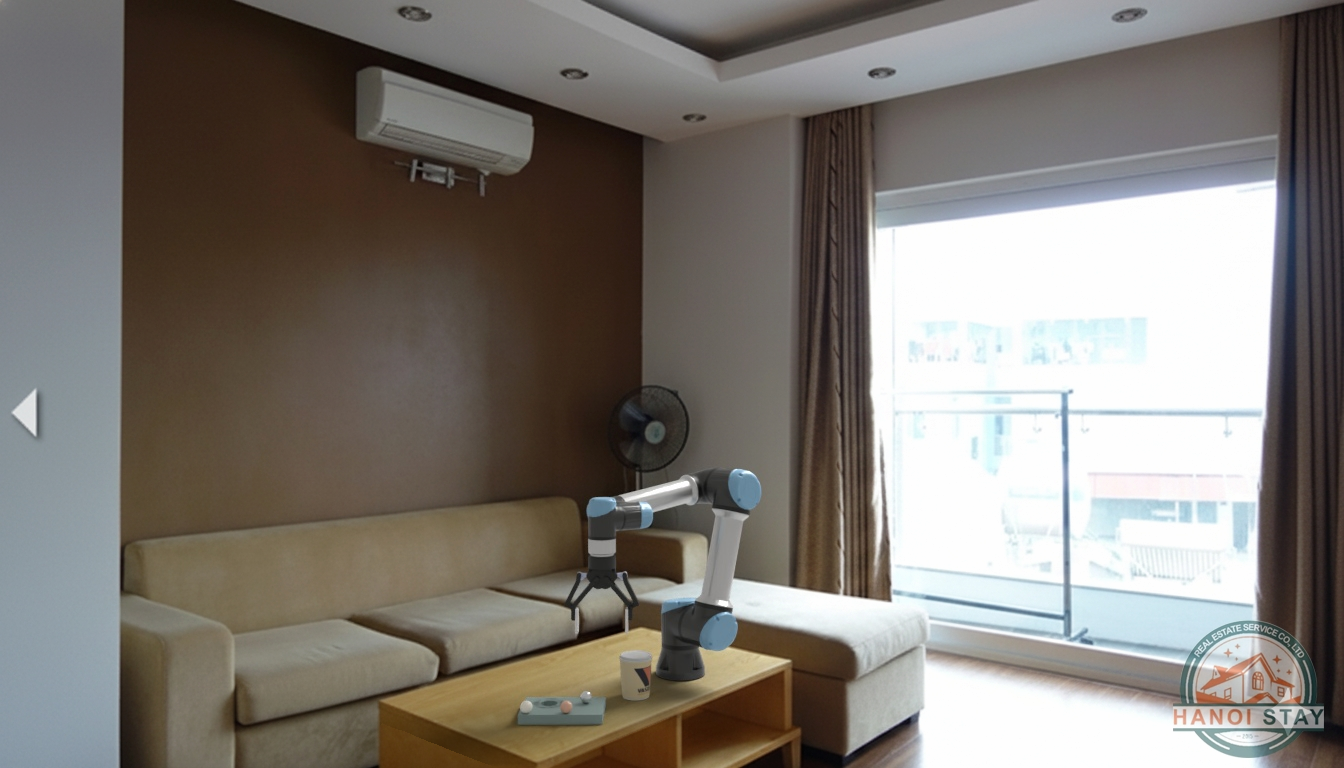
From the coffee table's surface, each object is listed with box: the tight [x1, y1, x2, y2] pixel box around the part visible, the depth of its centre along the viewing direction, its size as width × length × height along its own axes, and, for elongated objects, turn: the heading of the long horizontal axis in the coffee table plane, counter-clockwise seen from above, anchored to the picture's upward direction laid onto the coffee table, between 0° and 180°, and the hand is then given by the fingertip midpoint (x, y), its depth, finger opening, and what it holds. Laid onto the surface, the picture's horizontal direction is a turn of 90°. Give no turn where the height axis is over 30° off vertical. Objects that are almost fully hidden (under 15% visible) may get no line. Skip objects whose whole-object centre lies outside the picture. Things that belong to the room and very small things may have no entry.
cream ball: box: [519, 700, 532, 713], centre depth 251 cm, size 3×3×3 cm
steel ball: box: [579, 690, 593, 703], centre depth 259 cm, size 3×3×3 cm
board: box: [517, 696, 607, 726], centre depth 257 cm, size 22×15×2 cm
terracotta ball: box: [560, 700, 572, 713], centre depth 251 cm, size 3×3×3 cm
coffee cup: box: [618, 649, 653, 701], centre depth 273 cm, size 9×9×12 cm
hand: (601, 632), depth 260 cm, fingers open, 13 cm apart
